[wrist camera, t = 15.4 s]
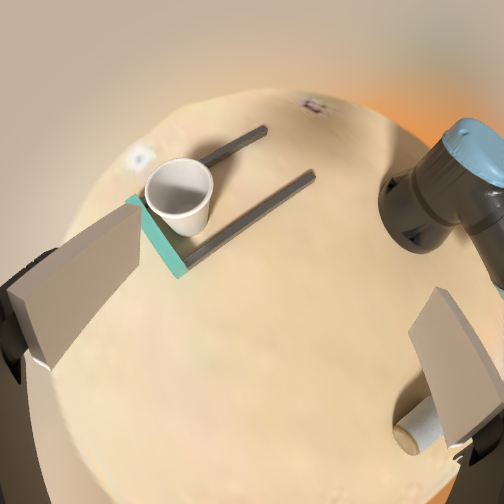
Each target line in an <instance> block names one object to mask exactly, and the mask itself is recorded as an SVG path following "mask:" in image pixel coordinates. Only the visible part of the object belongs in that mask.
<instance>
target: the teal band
mask: <svg viewBox="0 0 504 504" xmlns="http://www.w3.org/2000/svg"><path fill="white" fill-rule="evenodd" d="M125 202H126V203H129V204H133V205H137V206H141V207H142V215H141V228H142V229H143V231H144V232H145V234H146V235H147V237H148V238H149V240H150V242H151V243H152V245H153V246H154V248H155V249H156V251H157V252H158V254H159V255H160V256H161V258H162V259H163V261H164V262H165V264H166V265H167V267H168V268H169V270H170V271H171V272H172V274H173V275H174V276H175V277H176V278H177V279H178V278H180V277H181V276H182V275H184V274H185V273H186V272H188V269H187V267H186V266H185V264H184V263H183V261H182V260H181V259H180V257H179V256H178V254H177V253H176V252H175V250H174V249H173V247H172V246H171V245H170V243H169V242H168V240H167V239H166V237H165V236H164V235H163V233H162V232H161V230H160V229H159V227H158V226H157V224H156V223H155V221H154V220H153V218H152V217H151V215H150V214H149V212H148V211H147V209H146V208H145V206H144V205H143V203H142V202H141V200H140V199H139V197H138V196H137V194H134V195H133V196H131V197H130V198H129V199H127V200H126V201H125Z"/></svg>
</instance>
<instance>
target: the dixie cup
mask: <svg viewBox="0 0 504 504" xmlns="http://www.w3.org/2000/svg"><path fill="white" fill-rule="evenodd" d="M212 192H213V178H212V175H211V173H210V171H209V169H208V168H207V167H206V166H205V165H204V164H202V163H201V162H199V161H197V160H194V159H190V158H176V159H172V160H169V161H166V162H164V163H163V164H161V165H160V166H158V167H157V168H156V169H155V170H154V171H153V172H152V173H151V175H150V176H149V178H148V180H147V183H146V186H145V197H146V201H147V203H148V205H149V206H150V208H151V209H152V210H153V211H154V212H155V213H157V214H159V215H160V216H161V217H162V218H163V220H164V221H165V222H166V223H167V224H168V225H169V226H170V227H171V228H172V229H173V230H174V231H175V232H176V233H177V234H178V235H180V236H183V237H192V236H195V235H197V234H199V233H200V232H202V231H203V230H204V228H205V227H206V224H207V220H208V212H209V204H210V197H211V195H212Z"/></svg>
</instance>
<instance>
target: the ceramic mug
mask: <svg viewBox="0 0 504 504" xmlns="http://www.w3.org/2000/svg"><path fill="white" fill-rule="evenodd" d="M393 435H394V437H395V440H396V441H397V443H398V444H399V446H400V447H401V448H402V449H403V450H404V451H405V452H406V453H407V454H409V455H412V456H415V455H418V454H420V453H421V452H423V451H424V450H426V449H427V448H428V447H429V446H431V445H432V444H433V443H434V442H435V441H436V440H438V439H439V438H440V437H441V436H442V435H444V433H443V430H442V426H441V423H440V419H439V416H438V413H437V409H436V406H435V403H434V400H433V397H432V395H430V396H427V397H426V398H425V399H424V400H423V401H422V402H420V403H419V404H418V405H417V406H416V407H415V408H414V409H413V410H412V411H410V412H409V413H408V414H407V415H406V416H404V417H403V418H402V419H401V420H400V421H399V422H398V423H397V424H396V425H395V426H394V428H393Z"/></svg>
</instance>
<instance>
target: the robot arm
mask: <svg viewBox="0 0 504 504" xmlns="http://www.w3.org/2000/svg"><path fill="white" fill-rule="evenodd" d="M379 212H380V216H381V219H382V221H383V224H384V226H385V228H386V229H387V231H388V233H389V234H390V235H391V237H392V238H393V239H394V240H395V241H396V242H397V243H398V244H399V245H400V246H401V247H403V248H404V249H406V250H408V251H410V252H413V253H416V254H426V253H429V252H431V251H433V250H435V249H436V248H438V247H439V246H440V245H442V243H443V242H444V241H445V240H446V238H447V237H448V235H449V234H450V232H451V231H452V230H453V228H454V227H455V226H456V225H457V224H459V223H460V222H461V223H462V225H463V226H464V228H465V230H466V231H467V233H468V235H469V237H470V238H471V240H472V242H473V244H474V245H475V247H476V249H477V251H478V253H479V255H480V257H481V259H482V261H483V263H484V265H485V267H486V269H487V271H488V273H489V275H490V279H491V281H492V282H493V284H494V286H495V287H496V288H497V290H498V292H499V294H500V296H501V297H502V299H503V300H504V140H503V139H502V138H501V137H500V136H499V135H498V134H497V133H496V132H495V131H494V130H493V129H492V128H490V127H489V126H487V125H486V124H484V123H482V122H481V121H478V120H476V119H473V118H463V119H460V120H459V121H457V123H456V124H454V125H453V126H452V127H451V128H450V129H449V130H447V131H445V133H444V134H443V136H442V138H441V139H440V140H439V142H438V143H437V144H436V145H435V146H434V147H433V148H432V149H431V150H430V151H429V152H428V154H427V155H426V156H425V157H424V158H423V159H422V160H421V161H420V162H419V163H418V164H417V165H416V166H415V167H414V168H411V169H409V170H406V171H403V172H401V173H398V174H396V175H394V176H393V177H391V178H390V179H389V180H388V181H387V182H386V183H385V185H384V186H383V187H382V189H381V191H380V194H379ZM141 215H142V207H141V206H137V205H133V204H129V203H126V204H124V205H122V206H121V207H119V208H117V209H116V210H114V211H113V212H111V213H109V214H108V215H106V216H105V217H103V218H102V219H100V220H99V221H97V222H96V223H94V224H92V225H91V226H89V227H88V228H86V229H85V230H84V231H82V232H81V233H79V234H78V235H76V236H75V237H73V238H72V239H71V240H69V241H68V242H66V243H65V244H63V245H62V246H61V247H59V248H54V249H52V250H49V251H46V252H44V253H43V254H41V255H40V256H39V257H38V258H36V259H35V260H34V262H31V263H29V264H28V265H27V266H26V268H23V269H22V270H21V271H19V272H18V273H17V274H15V275H14V276H13V277H12V278H11V279H9V280H8V281H7V282H6V283H5V284H3V285H2V286H1V287H0V504H51V501H50V498H49V495H48V492H47V489H46V486H45V483H44V479H43V476H42V472H41V469H40V465H39V461H38V457H37V452H36V448H35V443H34V438H33V432H32V426H31V421H30V412H29V405H28V395H27V381H26V362H25V357H24V355H23V354H24V352H25V351H26V350H27V349H28V348H29V351H30V353H31V355H32V357H33V359H34V361H36V362H37V363H39V364H40V365H42V366H43V367H45V368H47V369H48V370H50V371H52V369H53V368H54V367H55V365H56V364H57V363H58V361H59V360H60V359H61V357H62V356H63V355H64V353H65V352H66V351H67V349H68V348H69V347H70V346H71V344H72V343H73V342H74V340H75V339H76V338H77V337H78V335H79V334H80V333H81V332H82V330H83V329H84V328H85V327H86V325H87V324H88V323H89V322H90V320H91V319H92V318H93V317H94V316H95V314H96V313H97V312H98V311H99V310H100V308H101V307H102V306H103V305H104V304H105V302H106V301H107V300H108V299H109V298H110V297H111V296H112V294H113V293H114V292H115V291H116V290H117V289H118V287H119V286H120V285H121V284H122V283H123V282H124V281H125V280H126V278H127V277H128V276H129V275H130V274H131V273H132V272H133V271H134V270H135V268H136V267H137V266H138V265H139V255H140V231H141ZM408 334H409V336H410V338H411V341H412V343H413V346H414V348H415V351H416V353H417V356H418V358H419V361H420V363H421V366H422V369H423V371H424V374H425V377H426V380H427V382H428V385H429V388H430V391H431V394H432V397H433V400H434V403H435V406H436V409H437V413H438V416H439V419H440V423H441V426H442V430H443V433H444V437H445V441H446V445H447V449H448V448H453V447H458V446H461V445H462V444H463V443H465V442H466V441H467V440H469V439H470V438H471V437H472V440H473V442H472V443H471V444H470V445H468V446H467V447H466V448H464V449H463V450H462V451H460V452H459V453H458V454H456V455H455V456H454V457H453V460H455V459H457V458H458V457H460V456H463V457H462V458H460V459H459V460H458V461H457V462H458V463H459V464H461V466H460V469H459V472H458V475H457V477H456V480H455V482H454V485H453V487H452V490H451V492H450V494H449V497H448V499H447V501H446V503H445V504H504V383H503V381H502V379H501V377H500V375H499V373H498V371H497V369H496V367H495V366H494V364H493V362H492V360H491V358H490V356H489V355H488V353H487V351H486V349H485V348H484V346H483V344H482V343H481V341H480V339H479V338H478V336H477V334H476V333H475V331H474V329H473V328H472V326H471V325H470V323H469V322H468V320H467V319H466V317H465V315H464V314H463V312H462V311H461V309H460V308H459V307H458V305H457V304H456V302H455V301H454V299H453V298H452V296H451V295H450V294H449V292H448V291H447V290H445V289H442V288H439V287H435V289H434V291H433V293H432V294H431V296H430V298H429V300H428V301H427V303H426V305H425V306H424V308H423V309H422V311H421V313H420V314H419V316H418V317H417V319H416V321H415V322H414V324H413V325H412V327H411V328H410V330H409V331H408Z"/></svg>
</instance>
